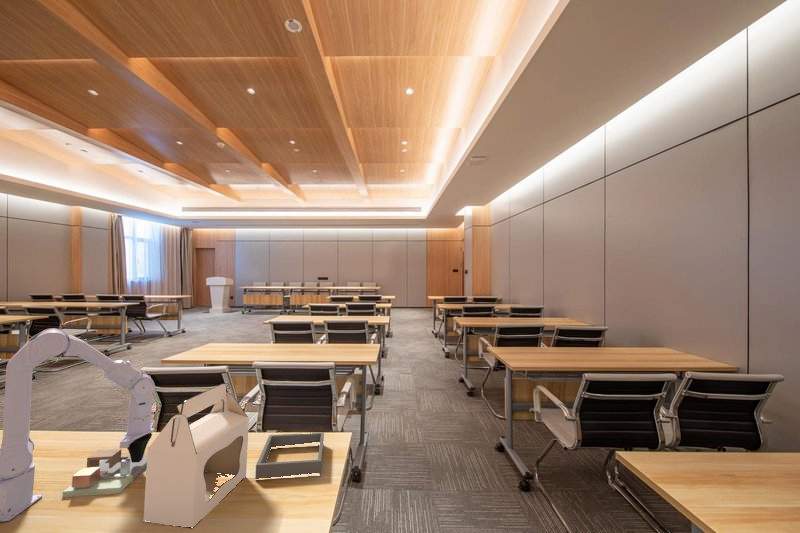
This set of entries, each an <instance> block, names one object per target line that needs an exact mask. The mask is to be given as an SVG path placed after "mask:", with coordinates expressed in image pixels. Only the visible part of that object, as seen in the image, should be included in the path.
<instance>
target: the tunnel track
mask: <svg viewBox="0 0 800 533" xmlns="http://www.w3.org/2000/svg"><path fill="white" fill-rule="evenodd" d="M86 458H87V459H86V468H90V467H100V471H108V473H107V474H106V475H108V474H120V468H121V461H122V460H123V459H131V457H130V454H129V455H122V448H116V449H115V448H113V449H97V450H96V451H95V452H93V453H92V454H90V455H89V456H88V457H86ZM101 460H102V461H101ZM146 469H147V454H144V455H143V458H142V460H141V461H140V462H135V463H132V461H131V460H130V473H129V474H127V475H126V476H125V477H124V478H115V479H100V480H99V481H98V482H96V483H95V484H94V485H93V486H92V487H89V488H75V489H73V488H72V484H71V485H69V486H68V487H67V488H66V489H64V490H63V491H62V498H72V497H74V498H75V497H88V496H99V495H100V496H101V494H103V495H114V494H116V495H117V494H121V492H123V491H124V490H125V489H126V488H127V487H128V486H129V485H130V484H131V483H132V482H133V480H135V479H136V478H137V477H139V475H140V474H141V473H143V471H144V470H146Z"/></svg>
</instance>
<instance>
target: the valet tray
mask: <svg viewBox="0 0 800 533" xmlns="http://www.w3.org/2000/svg"><path fill="white" fill-rule="evenodd" d="M309 433H310V434H302V433H289V434H288V433H286V434H284V433H283V434H269V435H268V438H267V439H266V441H265V444H264V446H263V449H262V451H261V454H259V458H258V460H257V462H256V464H255V479H259V478H271V477H281V476H282V477H283V476H291V475H299V474H300V475H301V474H308V473H309V474H312V473H321V474H322V466H321V464H322V465H323V455H322V453H323V454H324V443H323V441H324V442H325V440H324V437H325V433H324V432H322V431H321V432H309ZM311 433H312V434H311ZM312 442H320V446H319V447H318V458H317V459H308V460H307V459H306V460H304V459H303V460H291V461H290V460H288V461H274V462H266V460H267V461H268V459H267V457H268V455H269V456H270V454H269V452H270V453H271V451H270V449H271V447H276V446H285V445H295V444H304V443H312ZM271 450H272V449H271ZM268 458H269V457H268ZM265 462H266V463H265Z"/></svg>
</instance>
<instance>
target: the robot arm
mask: <svg viewBox="0 0 800 533" xmlns="http://www.w3.org/2000/svg"><path fill="white" fill-rule="evenodd" d="M62 353H63V356H64V357H79V358H80V359H83V360H84V361H86V362H88V363H90V364H91V365H94V366H96V367H98V369H101V370H103V371H104V372H103V373H104V378H106V379H107V380H109V381H111V382H113V383H114V384H116V385H118V386H119V387H121V388H123V389H127V390H128V391H130V393H129V401H128V407H127V408H128V409H127V424H126V426H127V427H126V432H125V434H124V436H123V437H122V439H121V440H120V441H119V449H127V451H128V453H129V455H130V457H131V461H132V463H135V462H140V461H141V460H142V458H143V455H145V453H146V452H145V451H146V448H147V446H148V444H149V442H150V439H151V438H152V436H153V432H155V426H156V420H152V408H153V406H152V405H153V398H152V397H153V392H154V391H155V388H156V385H155V382H154V380H153V378H151V376H149V375H148V373H146V372H145V371H144V370H143V369H142V370H139V369H138V368H136V367H135V366H132V362H130V361H129V360H128V359H127V360H123V359H119V360H113V359H112V358H110V357H108V356H107V355H106V354H104V353H102V352H101V351H99V350H98V349H96V348H95V347H93V346H92V345H90V344H89V343H87V342H86V341H84V340H82V339H80V338H79V337H76V336H75V335H72V334H70V333H68V335H67V333H66V332H65V331H64V330H62V329H59V328H55V327H54V328H46V329H44V330H42V331H40V332H39V333H37V334H34V335H33V336H32V337H31V336H30V338H29V339H28V340H27V341H26V342H25V343H24V345H23V346H22V347H20V349H19V350H18V351H17V352H16V353H15V354H14V355H13V356H12V357H11V358H10V359H9V360H8V362H7V364H6V368H5V389H4V402H3V405H4V406H3V421H2V422H3V423H2V438H1V445H0V523H1V522H8V521H11V520H13V519H14V518H15V517H17V516H18V515H19V514H20V513H22V512H24V511H25V510H26V509H27V508H29V507H30V506H31V505H33V504H35V503H36V502H37V501H39V499H41V498H43V494H34V482H35V472H36V471H35V469H36V463H35V462H34V461H33V452H34V450H35V443H34V441H33V440H32V439H31V437H30V433H31V429H30V425H31V407H32V388H33V387H32V386H33V370H34V369H35V368H36V367H38V366H40V365H42V363H44V362H45V361H46V360H50V359H52V358H54V357H57V356H59V355H61V354H62Z"/></svg>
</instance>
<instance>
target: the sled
mask: <svg viewBox="0 0 800 533" xmlns="http://www.w3.org/2000/svg"><path fill="white" fill-rule="evenodd" d="M130 460H131V459H123V460H122V461H121V468H120V474H108V475H106V474H107V473H108V471H100V467H90V468H87V467H83V468H82V469H80V470H78V471H77V472H76V473H75V474H73V475H72V477H71V478H72V480H71V482H72V483H71V485H72V488H73V489H75V488H89V487H92V486H93V485H94V484H95V483H96V482H98V481H99V480H100V479H115V478H124V477H125V476H126V475H127V474H129V473H130Z"/></svg>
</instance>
